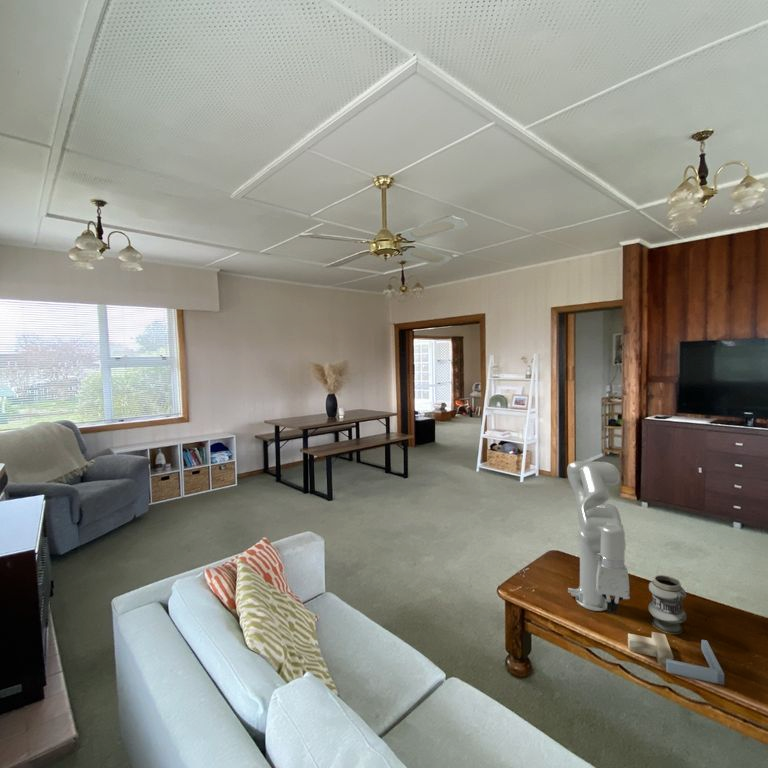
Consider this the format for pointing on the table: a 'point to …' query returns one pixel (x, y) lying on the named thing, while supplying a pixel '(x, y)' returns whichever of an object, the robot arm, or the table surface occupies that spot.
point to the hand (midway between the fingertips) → (612, 611)
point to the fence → (699, 667)
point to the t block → (651, 646)
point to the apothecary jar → (667, 604)
